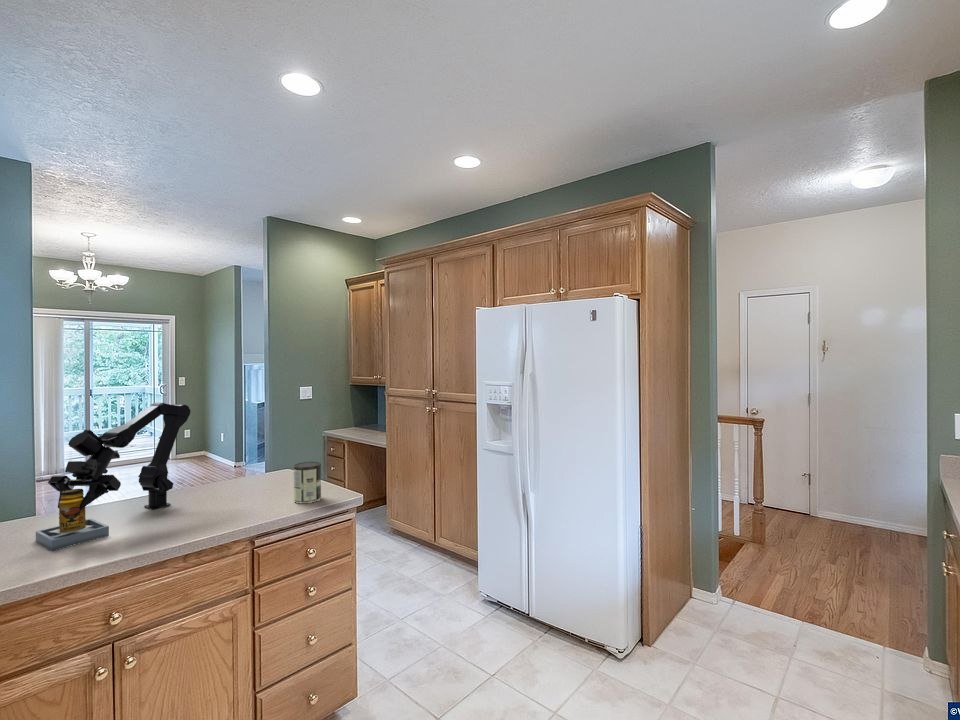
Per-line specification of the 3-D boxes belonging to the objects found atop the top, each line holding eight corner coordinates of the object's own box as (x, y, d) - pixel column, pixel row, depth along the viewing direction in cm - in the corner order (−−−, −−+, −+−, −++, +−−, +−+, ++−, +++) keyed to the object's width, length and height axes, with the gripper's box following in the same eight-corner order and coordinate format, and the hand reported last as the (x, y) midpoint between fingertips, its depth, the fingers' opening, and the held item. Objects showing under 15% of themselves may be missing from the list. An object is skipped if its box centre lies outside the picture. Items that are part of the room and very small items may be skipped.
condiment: (66, 534, 138) (66, 493, 138) (47, 532, 140) (47, 492, 141) (93, 526, 145) (93, 487, 145) (75, 524, 147) (75, 486, 148)
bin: (35, 541, 140) (35, 531, 140) (91, 527, 152) (91, 518, 152) (51, 550, 133) (51, 540, 133) (108, 535, 145) (108, 526, 145)
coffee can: (309, 494, 189) (309, 460, 189) (326, 498, 184) (326, 463, 184) (287, 501, 181) (287, 465, 181) (304, 505, 175) (304, 468, 175)
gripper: (52, 450, 146) (20, 495, 135) (114, 449, 147) (87, 494, 136) (73, 469, 154) (44, 513, 143) (131, 468, 155) (107, 512, 144)
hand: (70, 508), depth 141 cm, fingers closed on condiment, 6 cm apart
